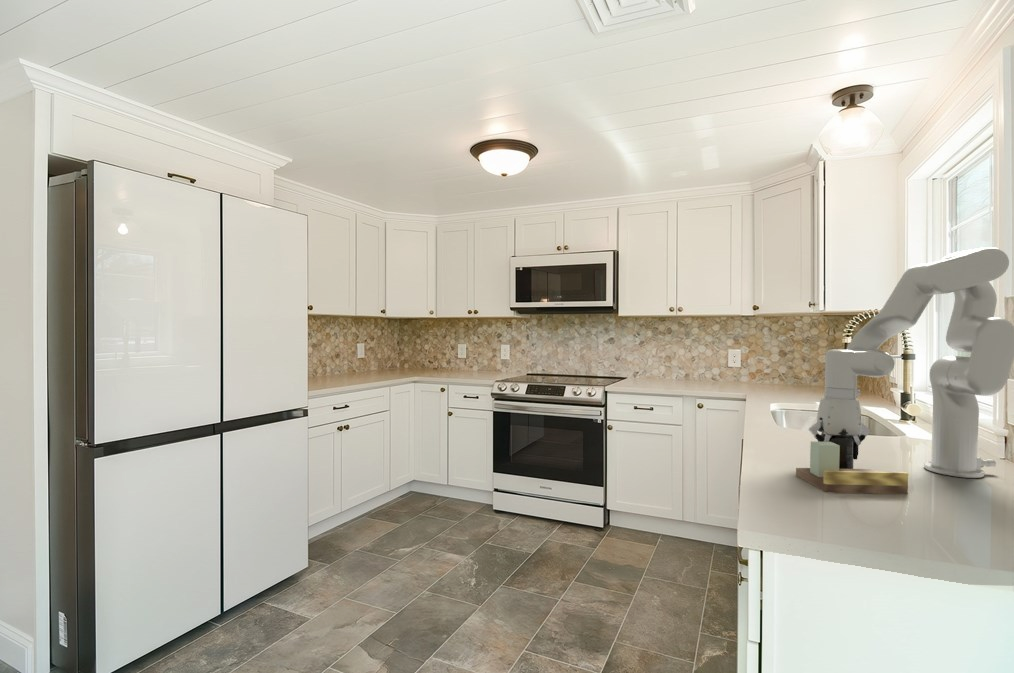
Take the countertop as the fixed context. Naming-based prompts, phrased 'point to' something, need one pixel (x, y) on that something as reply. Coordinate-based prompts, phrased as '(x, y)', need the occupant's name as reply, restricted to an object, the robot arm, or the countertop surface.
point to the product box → (824, 457)
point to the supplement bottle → (844, 449)
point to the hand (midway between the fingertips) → (838, 457)
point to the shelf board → (857, 481)
